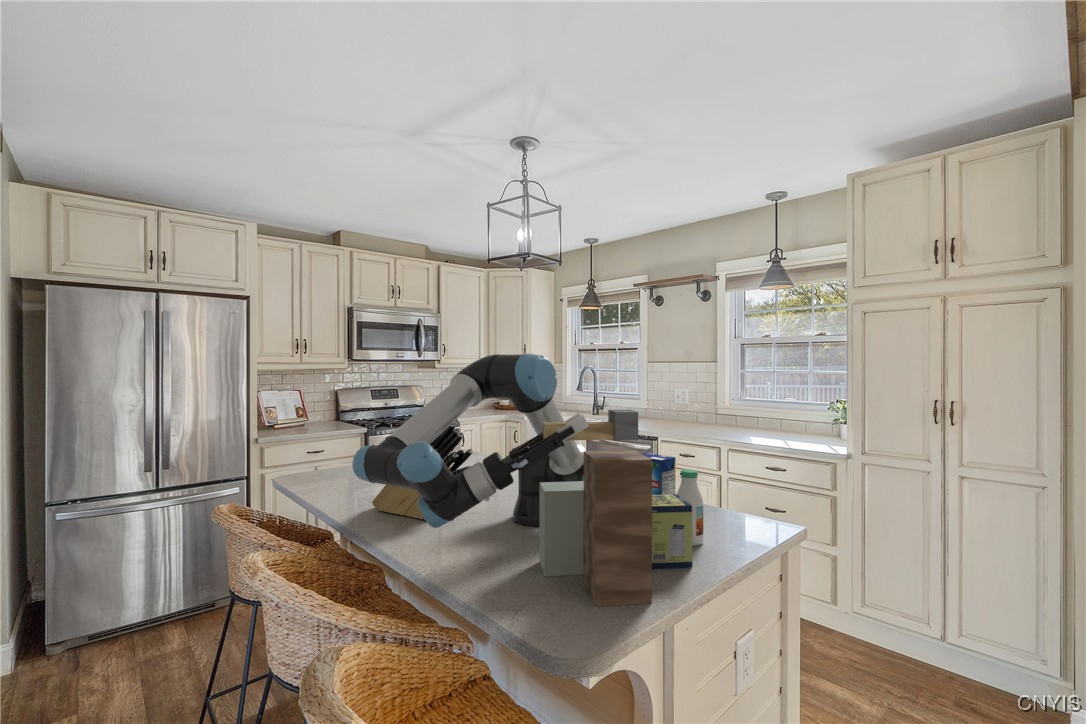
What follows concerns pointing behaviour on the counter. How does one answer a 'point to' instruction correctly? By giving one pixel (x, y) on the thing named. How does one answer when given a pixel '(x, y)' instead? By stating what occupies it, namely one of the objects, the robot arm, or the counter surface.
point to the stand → (617, 527)
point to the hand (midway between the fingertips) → (583, 419)
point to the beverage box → (662, 474)
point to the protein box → (671, 532)
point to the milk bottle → (693, 503)
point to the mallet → (603, 427)
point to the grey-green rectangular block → (561, 528)
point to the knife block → (407, 499)
